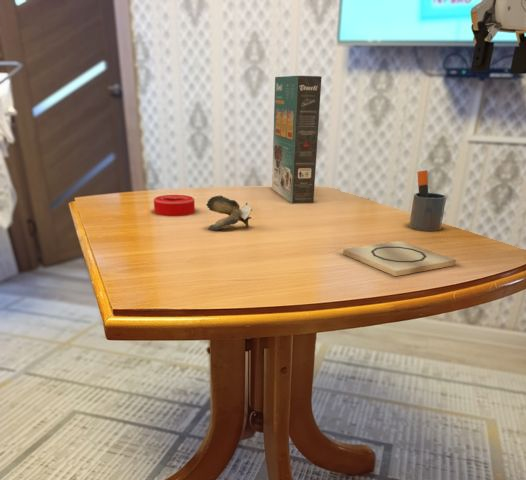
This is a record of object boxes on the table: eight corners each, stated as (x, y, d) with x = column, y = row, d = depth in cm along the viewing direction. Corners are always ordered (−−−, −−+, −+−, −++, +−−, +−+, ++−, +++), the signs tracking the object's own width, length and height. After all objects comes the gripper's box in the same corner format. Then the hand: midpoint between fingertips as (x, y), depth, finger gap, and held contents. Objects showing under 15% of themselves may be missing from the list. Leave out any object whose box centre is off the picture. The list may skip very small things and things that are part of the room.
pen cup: (424, 222, 118) (429, 191, 115) (447, 229, 113) (453, 197, 110) (402, 225, 115) (407, 193, 112) (424, 232, 110) (430, 199, 107)
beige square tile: (399, 245, 100) (400, 240, 100) (455, 265, 89) (456, 259, 89) (342, 254, 94) (343, 248, 93) (395, 276, 83) (396, 270, 83)
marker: (425, 224, 115) (422, 171, 113) (432, 223, 114) (429, 170, 111) (418, 225, 114) (415, 172, 112) (425, 224, 113) (422, 170, 110)
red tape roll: (160, 217, 118) (159, 203, 116) (150, 208, 125) (149, 195, 124) (200, 214, 121) (199, 200, 120) (188, 206, 129) (187, 193, 128)
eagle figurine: (241, 216, 115) (203, 210, 112) (252, 192, 110) (211, 185, 106) (246, 241, 111) (207, 236, 108) (257, 218, 106) (216, 211, 102)
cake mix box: (313, 202, 137) (321, 76, 123) (291, 203, 136) (297, 75, 122) (291, 188, 156) (296, 77, 142) (271, 188, 155) (275, 76, 141)
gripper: (509, -72, 70) (482, 70, 78) (583, -54, 78) (552, 73, 85) (466, -60, 76) (445, 71, 84) (539, -44, 83) (514, 74, 91)
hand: (499, 72), depth 85 cm, fingers open, 9 cm apart
